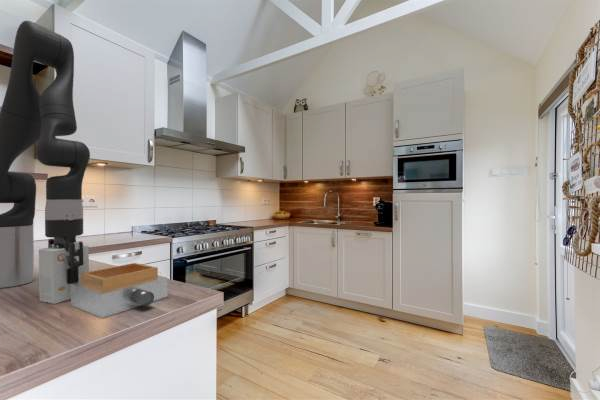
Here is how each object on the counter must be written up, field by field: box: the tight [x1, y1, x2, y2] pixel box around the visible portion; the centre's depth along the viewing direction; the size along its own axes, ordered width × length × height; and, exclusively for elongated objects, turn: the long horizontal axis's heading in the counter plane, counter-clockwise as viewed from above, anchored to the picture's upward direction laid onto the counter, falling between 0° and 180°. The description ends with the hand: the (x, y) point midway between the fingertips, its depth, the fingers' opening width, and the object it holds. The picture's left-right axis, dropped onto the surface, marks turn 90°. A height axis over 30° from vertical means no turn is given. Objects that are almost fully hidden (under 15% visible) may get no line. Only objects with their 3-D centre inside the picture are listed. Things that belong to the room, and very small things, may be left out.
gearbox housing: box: [70, 262, 168, 319], centre depth 69 cm, size 19×15×8 cm
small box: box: [38, 244, 90, 305], centre depth 72 cm, size 8×6×13 cm
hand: (65, 280), depth 72 cm, fingers open, 8 cm apart
